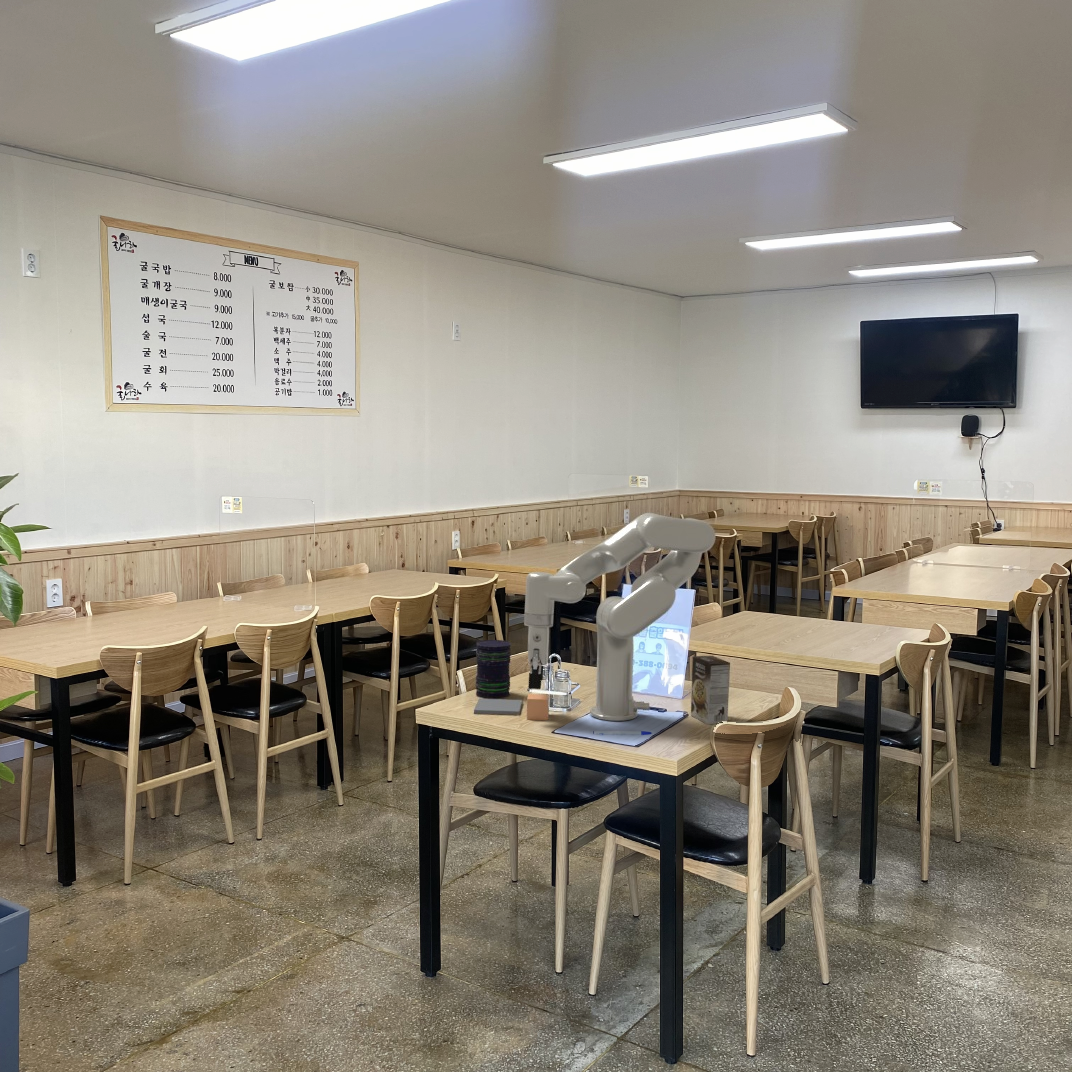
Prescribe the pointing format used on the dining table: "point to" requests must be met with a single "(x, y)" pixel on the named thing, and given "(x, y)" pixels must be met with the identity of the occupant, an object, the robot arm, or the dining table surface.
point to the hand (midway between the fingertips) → (535, 684)
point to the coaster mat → (498, 706)
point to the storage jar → (493, 669)
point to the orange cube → (538, 706)
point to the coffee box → (710, 689)
